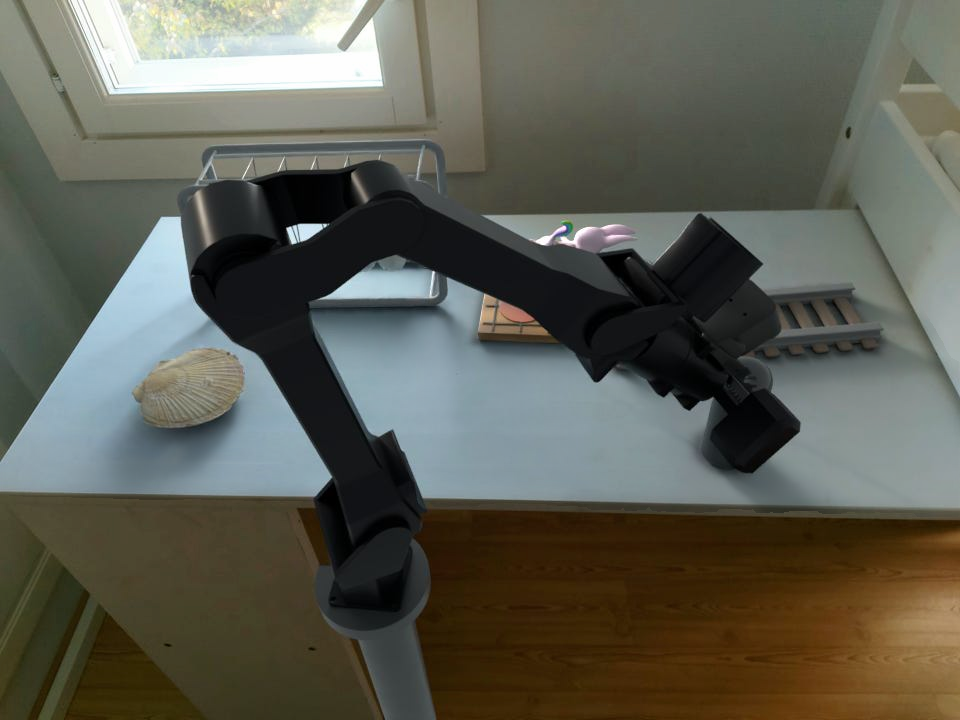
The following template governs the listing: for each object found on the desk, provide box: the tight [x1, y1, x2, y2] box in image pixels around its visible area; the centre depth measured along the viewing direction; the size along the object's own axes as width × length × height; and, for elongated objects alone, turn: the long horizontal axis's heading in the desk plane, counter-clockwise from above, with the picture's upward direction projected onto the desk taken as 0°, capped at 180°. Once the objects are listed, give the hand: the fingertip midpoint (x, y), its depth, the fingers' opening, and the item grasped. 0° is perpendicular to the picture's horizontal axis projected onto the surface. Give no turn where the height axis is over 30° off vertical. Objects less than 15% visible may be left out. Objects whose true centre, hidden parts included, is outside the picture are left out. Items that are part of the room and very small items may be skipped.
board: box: [477, 294, 561, 344], centre depth 92 cm, size 10×10×1 cm
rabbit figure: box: [529, 220, 638, 254], centre depth 99 cm, size 6×6×15 cm
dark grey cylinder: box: [700, 356, 774, 470], centre depth 72 cm, size 5×5×12 cm
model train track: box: [616, 281, 884, 371], centre depth 89 cm, size 11×31×2 cm, turn 94°
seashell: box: [131, 347, 246, 429], centre depth 84 cm, size 12×12×3 cm
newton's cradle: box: [176, 138, 449, 309], centre depth 93 cm, size 30×10×18 cm, turn 88°
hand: (748, 400), depth 71 cm, fingers open, 9 cm apart
